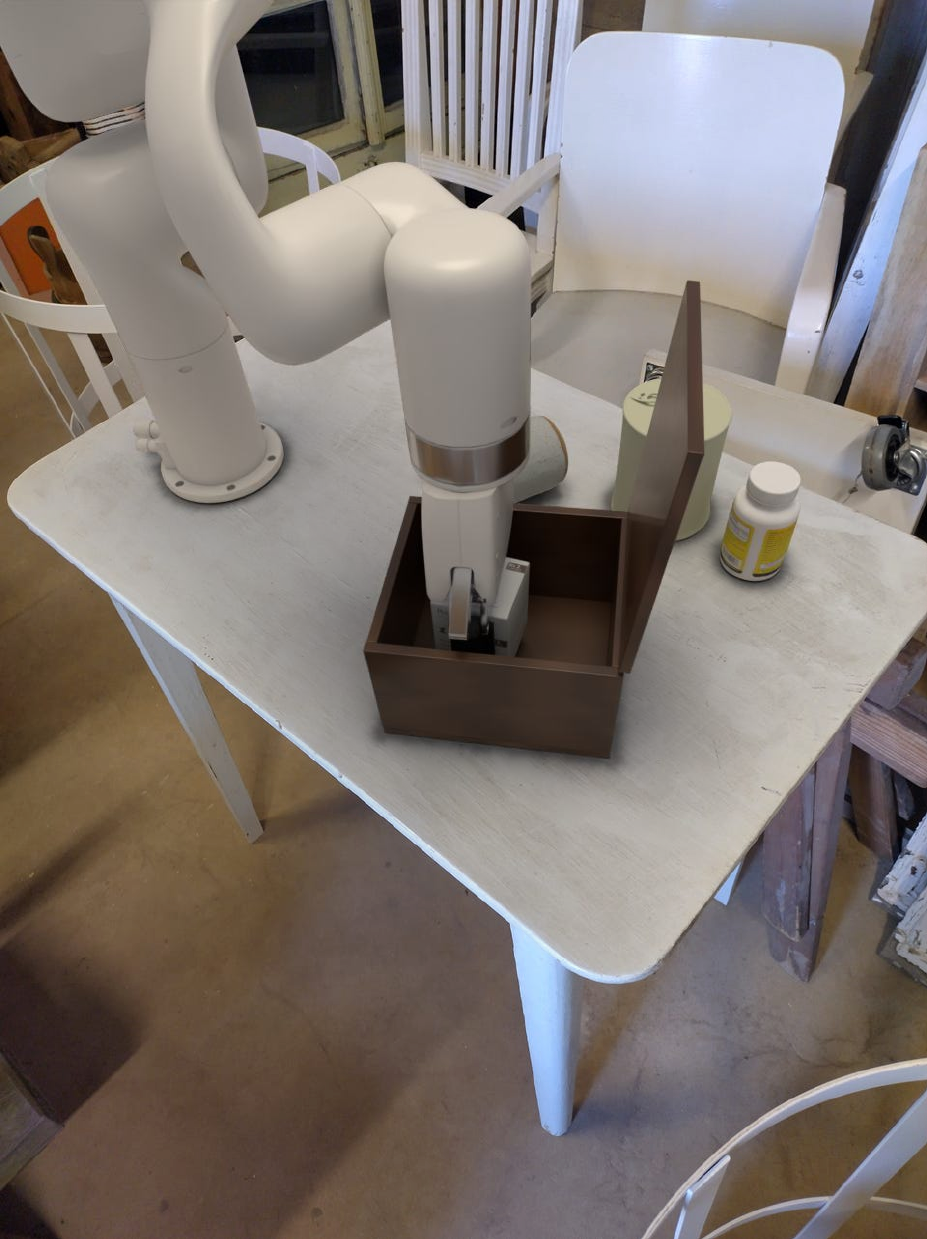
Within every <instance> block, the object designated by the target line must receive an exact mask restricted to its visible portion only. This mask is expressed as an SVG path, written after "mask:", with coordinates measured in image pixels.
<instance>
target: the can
mask: <svg viewBox="0 0 927 1239" xmlns="http://www.w3.org/2000/svg"><path fill="white" fill-rule="evenodd" d="M661 378H662V377H659V378H654V379H651V380H646V381H645V382H642V383H640V384H638V385H637V386H635V387H634V388H633V389H631V391H629V392H628V393H627V395H626V396H625V398H624V400H623V402H622V419H621V430H620V440H619V450H618V459H617V466H616V474H615V485H614V490H613V494H612V497H611V502H610V508H611V510H612V511H625V512H628V506H629V502H630V498H631V494H632V490H633V486H634V483H635V479H636V475H637V471H638V467H639V463H640V459H641V456H642V452H643V448H644V444H645V440H646V436H647V432H648V428H649V425H650V421H651V417H652V413H653V409H654V405H655V401H656V398H657V394H658V390H659V386H660V382H661ZM703 415H704V457H703V460H702V463H701V466H700V469H699V472H698V475H697V478H696V481H695V484H694V487H693V490H692V493H691V496H690V499H689V502H688V505H687V508H686V511H685V513H684V516H683V519H682V522H681V525H680V528H679V531H678V534H677V537H676V540H675V542H678V541H681V540H685V539H688V538H690V537H692V536H694V535H696V534H698V532H700V531H701V530H702V529H703V528H704V526H706V524H707V523H708V520H709V517H710V512H711V508H710V506H711V501H712V500H711V499H712V496H713V492H714V487H715V483H716V480H717V476H718V472H719V466H720V463H721V459H722V455H723V450H724V447H725V443H726V439H727V435H728V432H729V429H730V428H729V427H730V425H731V423H732V420H733V408H732V405H731V403H730V401H729V400H728V398H727V397H726V396H725V394H723V392H722V391H720V390H719V389H717V388H716V387H714V386H712V385H710V384H708V383H706V382H703Z"/></svg>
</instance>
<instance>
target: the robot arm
mask: <svg viewBox="0 0 927 1239" xmlns="http://www.w3.org/2000/svg"><path fill="white" fill-rule="evenodd" d="M274 2H275V0H0V49H1V51H2V52H3V55H4V57H5V59H6V61H7V63H8V65H9V67H10V69H11V71H12V73H13V76H14V77H15V79H16V81H17V83H18V85H19V86H20V89H21V91H23V93H24V95H25V96H26V97H27V99H28V100H29V101H30V103H31V104H32V105H33V106H34V107H35V108H36V109H37V110H38V111H39V112H40V113H41V114H43V115H44V116H46V117H48V118H49V119H52V120H54V121H58V122H63V123H78V122H84V121H89V120H93V119H96V118H100V117H104V116H107V115H109V114H112V113H115V112H118V111H121V110H124V109H125V110H126V109H127V108H130V107H133V106H135V105H138V104H141V103H144V116H145V118H142V119H139V120H134V121H132V122H128V123H126V124H123V125H121V126H118V127H116V128H115V127H114V128H112V129H109V130H108V131H105V132H101V133H100V134H97V135H94V136H92V137H88V138H86V139H85V140H82V141H81V142H78V143H76V144H75V145H73V146H71V147H70V148H68V149H67V150H65V151H64V152H62V153H61V154H60V155H59V156H58V157H57V158H56V159H55V161H54V162H53V163H52V164H51V166H50V167H49V170H48V171H47V175H46V179H45V196H46V200H47V203H48V208H49V209H50V211H51V213H52V216H53V218H54V220H55V222H56V224H57V226H58V227H59V229H60V231H61V232H62V235H63V236H64V237H65V238H66V240H67V242H68V243H69V245H70V247H71V248H72V250H73V252H74V253H75V255H76V256H77V258H78V260H79V261H80V263H81V265H82V266H83V268H84V270H85V271H86V272H87V274H88V276H89V278H90V280H91V281H92V283H93V285H94V287H95V288H96V290H97V292H98V295H99V296H100V298H101V301H102V302H103V304H104V306H105V308H106V310H107V313H108V315H109V318H110V319H111V321H112V323H113V326H114V329H115V330H116V333H117V335H118V337H119V340H120V342H121V344H122V347H123V348H124V351H125V353H126V355H127V357H128V360H129V362H130V365H131V367H132V369H133V371H134V374H135V377H136V378H137V381H138V383H139V386H140V388H141V390H142V392H143V395H144V397H145V399H146V402H147V404H148V406H149V408H150V411H151V413H152V415H153V418H154V420H151V419H150V420H149V419H148V420H147V419H136V420H135V421H134V423H133V434H134V436H135V437H136V438H137V439H136V441H135V449H136V450H137V452H139V453H140V452H141V453H157V454H158V455H159V456H160V457H161V459H162V460H161V464H160V471H161V475H162V478H163V480H164V482H165V484H166V486H167V487H168V488H169V490H170V491H171V492H172V493H173V494H175V495H176V496H178V497H180V498H182V499H184V500H185V501H190V502H195V503H201V504H203V503H204V504H216V503H223V502H229V501H234V500H237V499H241V498H243V497H246V496H248V495H250V494H252V493H254V492H255V491H257V490H259V489H261V488H262V487H264V486H265V485H266V484H267V483H269V482H270V480H272V479H273V478H274V476H275V475H276V474H277V473H278V472H279V470H280V468H281V466H282V464H283V461H284V455H285V454H284V446H283V443H282V439H281V438H280V436H279V434H278V433H277V431H276V430H274V428H273V427H271V426H269V425H268V424H266V423H264V422H261V421H260V419H259V415H258V412H257V409H256V405H255V402H254V399H253V397H252V392H251V390H250V386H249V383H248V380H247V377H246V374H245V371H244V367H243V364H242V360H241V357H240V354H239V351H238V348H237V344H236V342H235V339H234V335H233V332H232V329H231V325H230V322H229V319H230V321H231V322H232V323H233V325H234V327H235V328H236V330H238V332H239V333H240V334H241V335H242V337H243V338H244V339H245V340H246V341H247V342H248V343H249V345H251V347H253V349H255V350H256V351H257V352H258V353H260V354H261V355H263V357H265V358H266V359H269V360H270V361H272V362H274V363H277V364H279V365H280V364H281V365H285V366H302V365H305V364H310V363H313V362H316V361H318V360H320V359H322V358H323V357H326V356H328V355H330V354H332V353H334V352H335V351H337V350H338V349H341V348H342V347H344V346H346V345H347V344H349V343H351V342H352V341H355V340H356V339H358V338H360V337H361V336H363V335H365V334H367V333H368V332H370V331H372V330H374V329H375V328H377V327H379V326H380V325H382V324H384V323H386V322H388V321H390V327H391V333H392V334H391V335H392V341H393V347H394V354H395V361H396V362H395V364H396V369H397V376H398V384H399V391H400V398H401V404H402V412H403V420H404V426H405V433H406V440H407V448H408V454H409V461H410V465H411V467H412V469H413V471H414V472H415V473H416V475H417V476H418V477H419V478H420V479H422V486H421V497H422V539H423V553H424V566H425V578H426V590H427V595H428V597H429V599H430V600H431V601H432V602H439V603H443V602H444V600H445V598H446V597H447V595H448V593H449V623H448V627H449V639H450V643H451V651H460V652H470V653H480V654H490V655H495V639H494V622H491V621H489V617H490V605H492V604H493V603H494V602H495V601H496V600H497V596H498V592H499V587H500V582H501V577H502V572H503V568H504V563H505V558H506V557H508V549H507V548H508V542H509V536H510V530H511V522H512V513H513V501H514V478H515V477H516V476H517V475H518V474H520V473H521V471H522V470H523V469H524V468H525V466H526V465H527V463H528V460H529V458H530V451H531V443H530V441H531V414H532V410H531V401H532V400H531V397H532V396H531V393H532V392H531V387H532V385H531V384H532V383H531V382H532V258H531V257H532V256H531V250H530V247H529V244H528V241H527V239H526V237H525V235H524V234H523V232H522V231H521V229H519V227H518V225H517V224H515V223H514V222H513V221H511V220H510V219H508V218H506V217H505V216H503V215H501V214H498V213H495V212H493V211H490V210H485V209H480V208H470V207H469V206H467V205H466V204H465V203H463V202H462V201H460V199H458V198H457V197H456V196H455V195H454V194H452V193H451V192H450V191H449V190H448V189H447V188H445V186H443V185H442V184H440V182H439V181H437V180H436V179H435V178H433V176H431V175H430V174H428V173H427V172H426V171H424V170H423V169H420V168H419V167H417V166H416V165H413V164H410V163H408V162H402V161H401V162H400V161H390V162H384V163H380V164H377V165H375V166H371V167H369V168H366V169H365V170H361V171H360V172H358V173H356V174H354V175H352V176H349V177H347V178H345V179H344V180H341V181H339V182H337V183H335V184H333V183H332V184H331V185H328V186H327V187H324V188H322V189H320V190H317V191H314V192H313V193H310V194H308V195H306V196H304V197H302V198H300V199H297V200H295V201H294V202H291V203H289V204H286V205H284V206H282V207H280V208H278V209H276V210H273V211H271V212H269V213H267V214H264V215H263V216H261V217H259V214H260V213H261V212H262V210H263V209H264V208H265V206H266V204H267V201H268V196H269V177H268V168H267V164H266V159H265V155H264V151H263V146H262V141H261V138H260V133H259V130H258V127H257V123H256V119H255V113H254V110H253V106H252V103H251V98H250V95H249V91H248V87H247V82H246V78H245V75H244V72H243V67H242V63H241V59H240V55H239V52H238V47H237V43H239V41H240V40H242V39H243V37H245V35H246V34H247V33H248V32H249V31H250V30H251V29H252V27H254V25H256V23H257V22H258V21H259V20H260V19H261V18H262V17H263V15H264V14H266V12H267V11H268V10H269V8H270V7H271V6H272V5H273V4H274ZM188 252H189V254H190V256H191V257H192V259H193V261H194V262H195V264H196V266H197V267H198V269H199V271H200V272H201V274H202V276H203V277H202V276H201V275H200V274H199V273H197V272H196V271H194V270H192V269H190V268H189V267H187V266H184V265H183V264H182V263H181V258H182V257H183V255H185V254H187V253H188ZM228 317H229V319H228ZM474 583H475V588H473V584H474ZM472 602H474V603H480V616H472V615H471V607H472Z"/></svg>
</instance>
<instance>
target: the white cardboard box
mask: <svg viewBox="0 0 927 1239" xmlns="http://www.w3.org/2000/svg"><path fill="white" fill-rule="evenodd" d="M529 571H530V563H529V562H526V561H521V560H517V559H512V558H508V557H506V558H505V563H504V568H503V572H502V577H501V582H500V587H499V592H498V596H497V600H496V601H495V602H494V603H493V604H492V605H490V617H489V621H491V622H494V639H495V655H500V656H510V657H515V655H516V652H517V649H518V647H519V644H520V641H521V638H522V635H523V632H524V630H525V627H526V624H527V620H528V594H529ZM473 588H475V583H474V584H473ZM430 604H431V613H432V622H433V631H434V640H435V648H436V649H440V650H450V651H451V643H450V639H449V627H448V623H449V593H448V595H447V597H446V598H445V600H444V602H443V603H439V602H432V601H431V602H430ZM471 615H472V616H480V603H474V602H472V607H471Z"/></svg>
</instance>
